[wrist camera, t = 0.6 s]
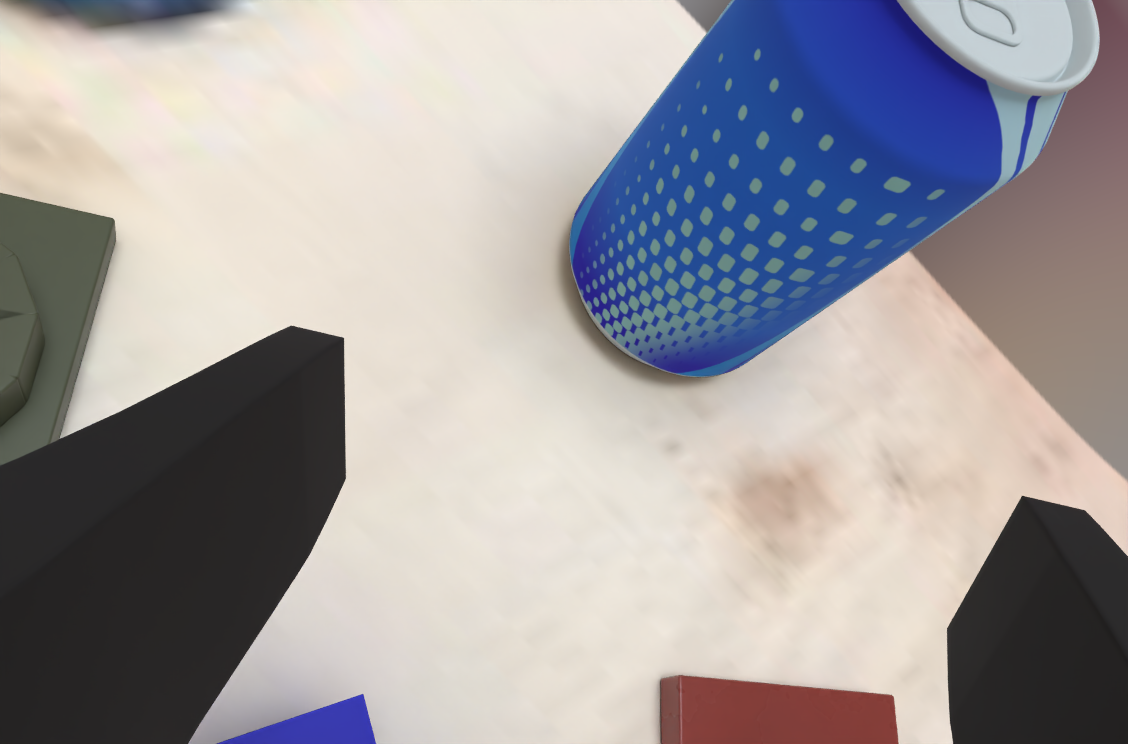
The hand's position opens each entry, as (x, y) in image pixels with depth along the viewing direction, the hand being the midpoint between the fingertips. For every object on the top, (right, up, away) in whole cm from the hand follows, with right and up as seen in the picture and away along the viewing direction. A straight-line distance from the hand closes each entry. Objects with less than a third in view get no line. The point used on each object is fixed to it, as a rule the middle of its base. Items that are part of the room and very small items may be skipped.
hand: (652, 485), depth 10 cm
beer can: (+3, +4, +25) cm, 25 cm away
